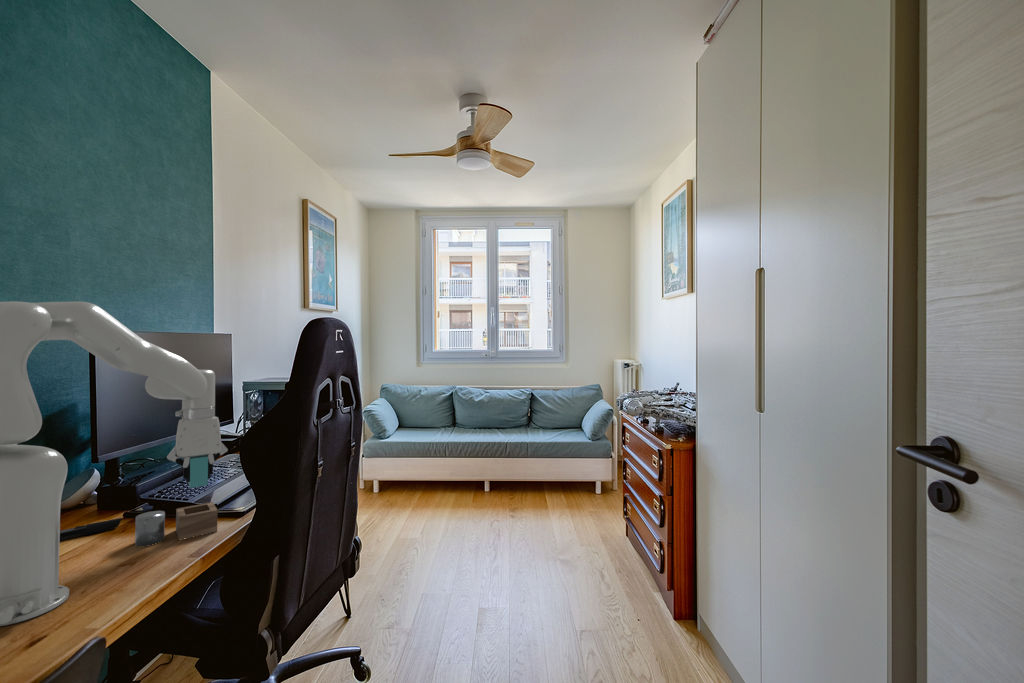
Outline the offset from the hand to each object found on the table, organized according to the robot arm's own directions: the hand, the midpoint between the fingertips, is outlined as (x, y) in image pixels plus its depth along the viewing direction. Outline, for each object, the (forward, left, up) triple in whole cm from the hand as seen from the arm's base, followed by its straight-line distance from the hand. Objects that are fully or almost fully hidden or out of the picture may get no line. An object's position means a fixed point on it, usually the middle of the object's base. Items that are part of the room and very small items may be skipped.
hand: (198, 478), depth 123 cm
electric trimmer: (+17, +24, -15) cm, 33 cm away
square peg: (0, 0, -2) cm, 2 cm away
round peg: (0, +10, -15) cm, 18 cm away
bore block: (0, 0, -14) cm, 14 cm away
